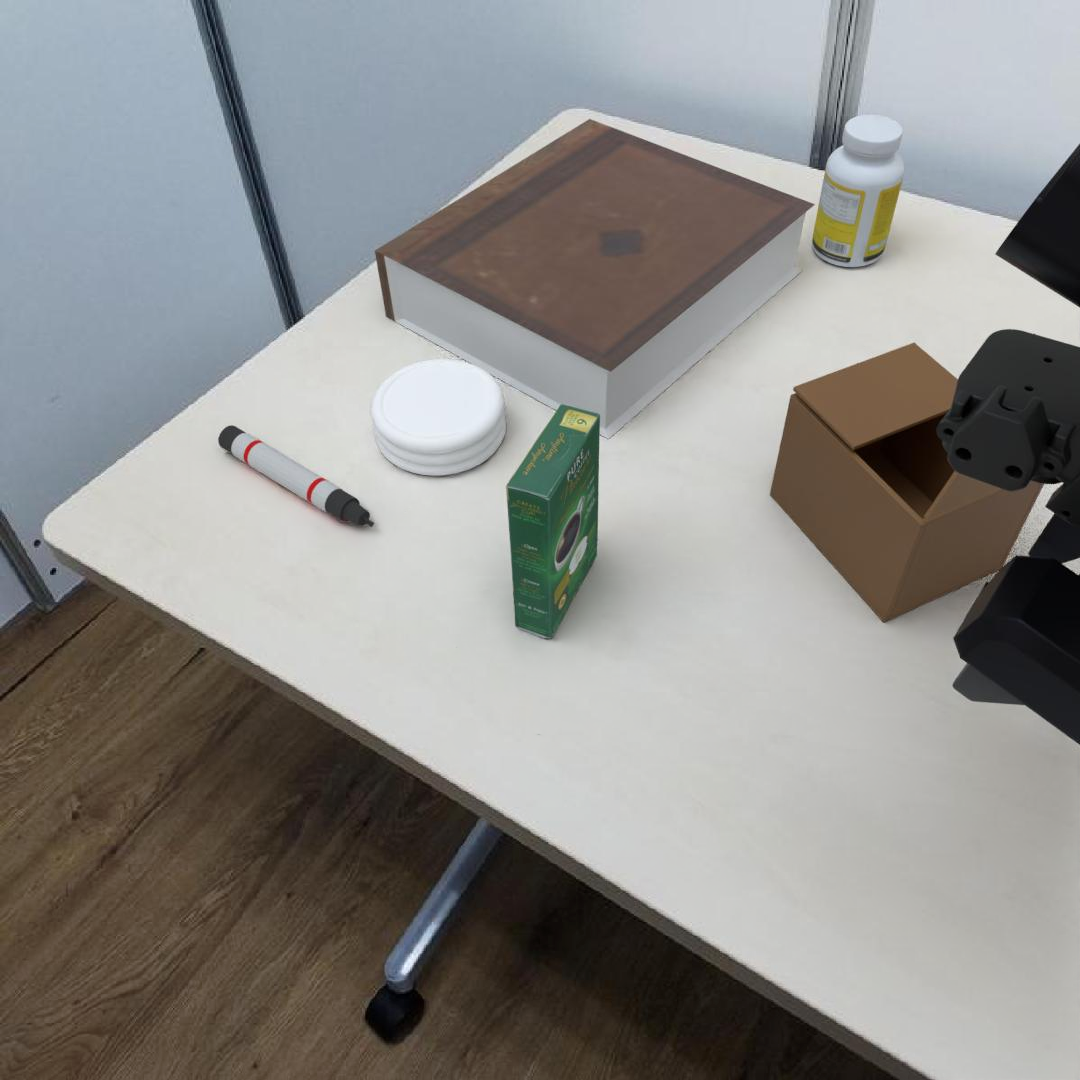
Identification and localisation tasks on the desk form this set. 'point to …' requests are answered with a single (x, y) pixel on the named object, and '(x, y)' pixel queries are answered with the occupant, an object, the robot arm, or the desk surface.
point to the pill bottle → (859, 192)
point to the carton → (889, 483)
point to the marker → (293, 476)
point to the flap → (958, 494)
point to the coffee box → (554, 519)
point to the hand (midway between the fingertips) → (1001, 622)
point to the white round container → (438, 417)
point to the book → (594, 269)
